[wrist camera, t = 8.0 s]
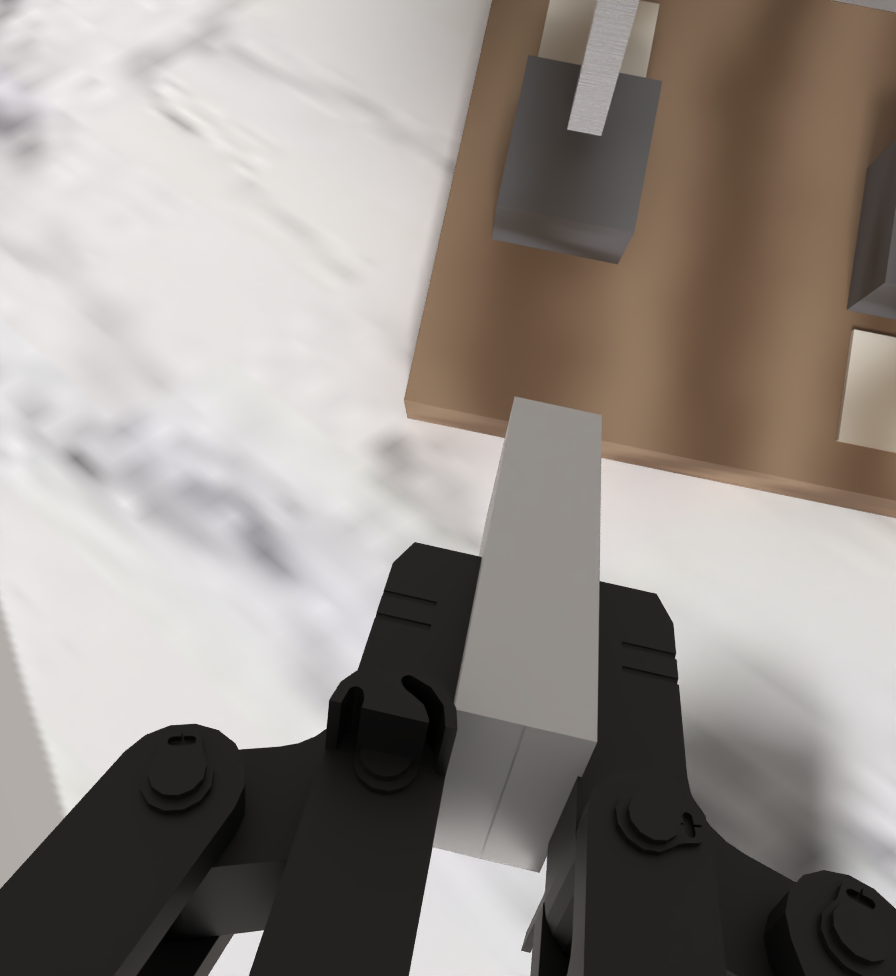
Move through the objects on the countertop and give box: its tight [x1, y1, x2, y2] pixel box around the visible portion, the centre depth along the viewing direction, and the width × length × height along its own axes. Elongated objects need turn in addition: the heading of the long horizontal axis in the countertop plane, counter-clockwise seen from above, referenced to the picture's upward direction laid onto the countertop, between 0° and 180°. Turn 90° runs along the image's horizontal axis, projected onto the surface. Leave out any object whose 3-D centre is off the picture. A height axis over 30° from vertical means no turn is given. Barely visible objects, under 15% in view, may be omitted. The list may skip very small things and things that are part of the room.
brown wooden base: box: [404, 0, 896, 518], centre depth 31 cm, size 23×20×6 cm
